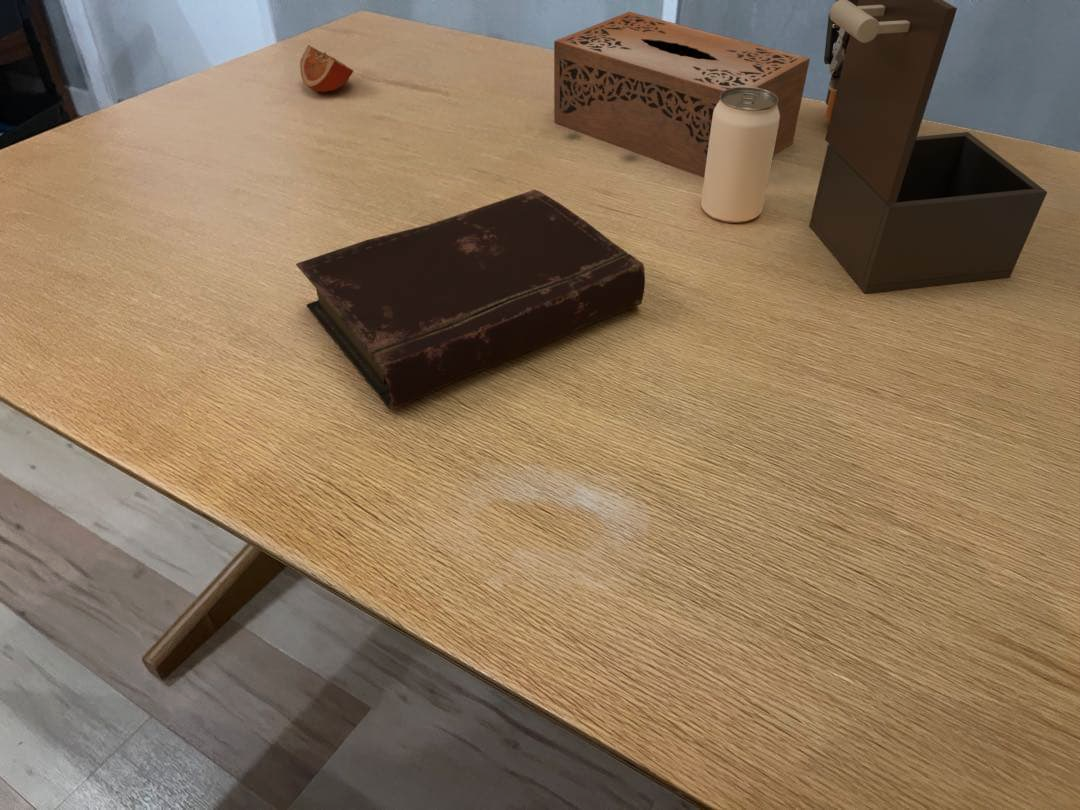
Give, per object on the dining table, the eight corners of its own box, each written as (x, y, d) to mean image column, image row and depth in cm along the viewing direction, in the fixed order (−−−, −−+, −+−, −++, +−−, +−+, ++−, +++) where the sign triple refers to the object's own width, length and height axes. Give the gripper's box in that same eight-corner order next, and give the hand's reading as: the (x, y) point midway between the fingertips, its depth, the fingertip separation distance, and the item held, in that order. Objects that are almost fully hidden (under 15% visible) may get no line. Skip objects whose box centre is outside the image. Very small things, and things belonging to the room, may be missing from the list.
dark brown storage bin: (940, 212, 86) (968, 131, 80) (1010, 277, 77) (1048, 191, 71) (808, 225, 85) (827, 144, 79) (864, 293, 75) (890, 207, 70)
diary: (645, 311, 74) (649, 263, 70) (394, 419, 64) (385, 369, 60) (531, 225, 85) (530, 181, 82) (303, 305, 75) (292, 258, 72)
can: (697, 221, 86) (712, 107, 78) (703, 192, 90) (717, 82, 82) (760, 227, 84) (782, 113, 76) (763, 198, 89) (784, 87, 81)
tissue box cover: (554, 122, 104) (554, 40, 98) (624, 89, 112) (629, 11, 106) (726, 185, 91) (740, 96, 85) (792, 142, 99) (809, 58, 92)
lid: (876, -39, 68) (817, -36, 68) (957, 8, 59) (890, 12, 58) (832, 139, 79) (780, 143, 78) (896, 202, 69) (838, 207, 69)
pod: (854, 107, 103) (862, 75, 101) (873, 124, 100) (882, 91, 97) (815, 111, 103) (821, 79, 100) (833, 128, 99) (840, 95, 96)
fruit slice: (294, 84, 115) (287, 48, 112) (338, 74, 118) (332, 37, 115) (320, 103, 110) (312, 65, 107) (365, 91, 113) (359, 54, 109)
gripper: (946, -23, 85) (901, 136, 96) (880, -56, 95) (847, 90, 107) (877, -17, 84) (841, 142, 95) (819, -52, 94) (792, 95, 106)
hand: (844, 113), depth 101 cm, fingers closed on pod, 5 cm apart
